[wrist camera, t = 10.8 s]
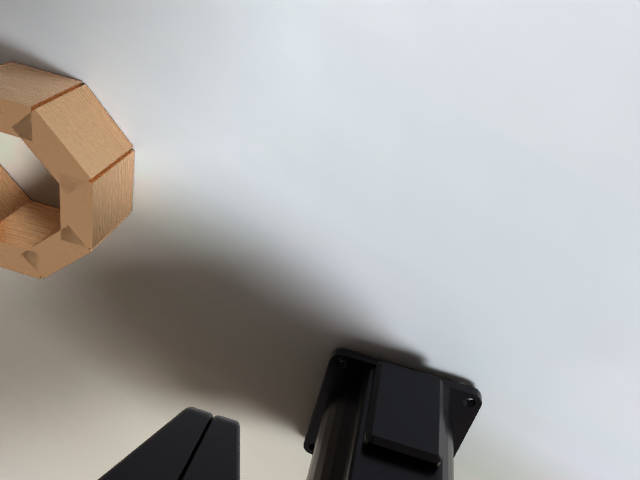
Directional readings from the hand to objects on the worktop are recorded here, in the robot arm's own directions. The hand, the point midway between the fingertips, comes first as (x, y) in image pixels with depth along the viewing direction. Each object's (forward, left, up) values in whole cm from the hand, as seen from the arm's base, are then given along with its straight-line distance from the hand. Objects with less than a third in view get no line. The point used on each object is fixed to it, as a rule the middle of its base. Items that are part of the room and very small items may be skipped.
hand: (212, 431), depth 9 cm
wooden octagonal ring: (-4, +11, -13) cm, 17 cm away
